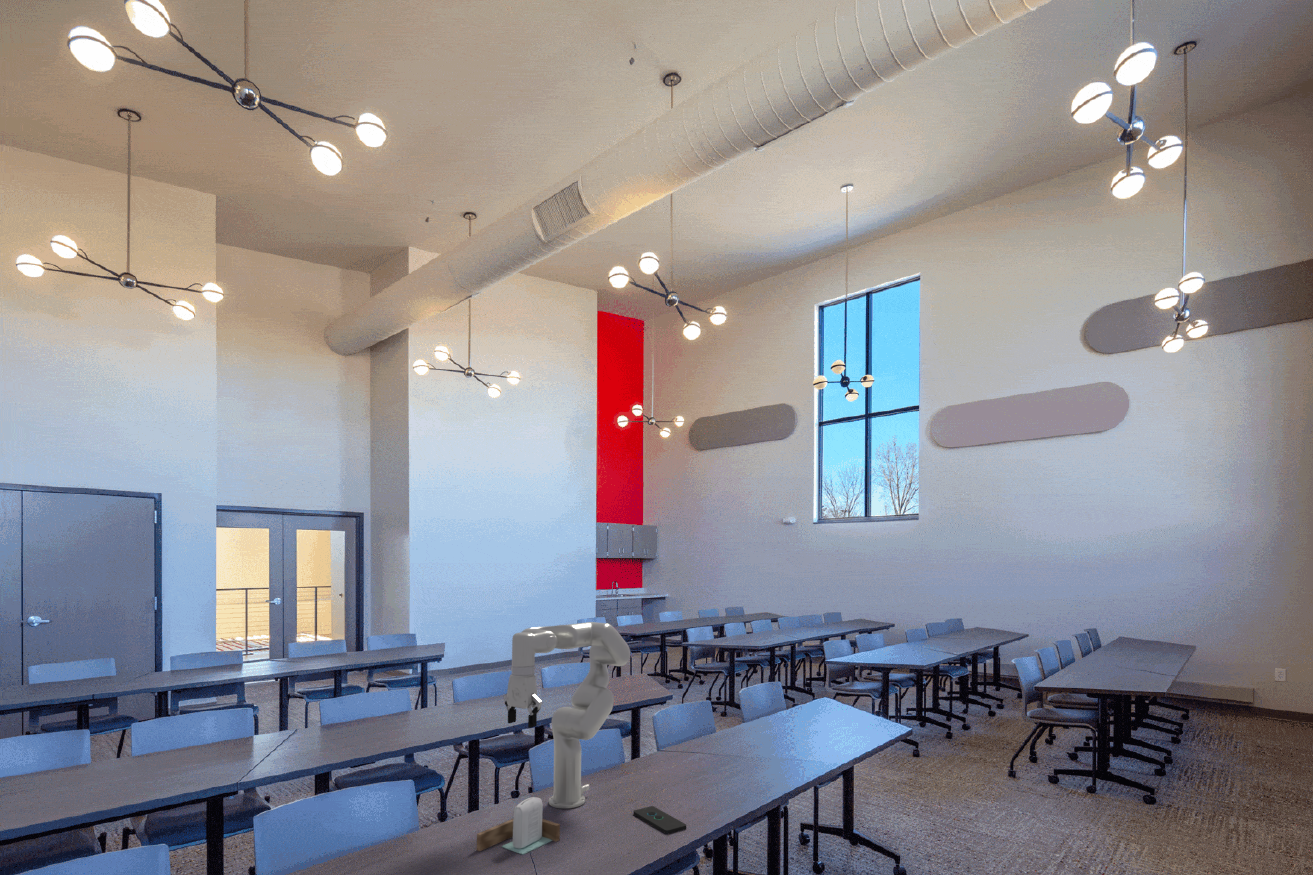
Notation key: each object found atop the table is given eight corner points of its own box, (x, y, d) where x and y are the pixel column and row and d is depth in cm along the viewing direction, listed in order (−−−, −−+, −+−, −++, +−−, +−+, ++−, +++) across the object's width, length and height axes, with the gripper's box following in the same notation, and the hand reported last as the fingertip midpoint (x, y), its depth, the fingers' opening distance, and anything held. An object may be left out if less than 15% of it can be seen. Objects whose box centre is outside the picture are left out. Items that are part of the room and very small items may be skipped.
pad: (531, 833, 222) (531, 832, 222) (552, 840, 217) (552, 839, 217) (501, 846, 212) (501, 845, 212) (522, 854, 207) (522, 853, 207)
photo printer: (533, 835, 220) (534, 792, 222) (544, 837, 218) (544, 795, 220) (510, 847, 211) (511, 802, 213) (521, 850, 209) (522, 805, 211)
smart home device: (652, 805, 242) (687, 824, 225) (652, 810, 242) (687, 830, 225) (632, 810, 237) (666, 830, 221) (632, 815, 237) (666, 836, 221)
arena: (525, 828, 226) (525, 813, 226) (559, 839, 217) (559, 824, 218) (476, 849, 210) (477, 833, 211) (511, 863, 201) (511, 846, 202)
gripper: (496, 669, 239) (495, 723, 237) (533, 675, 229) (532, 731, 227) (513, 666, 245) (512, 718, 243) (549, 671, 235) (548, 726, 233)
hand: (521, 724), depth 235 cm, fingers open, 9 cm apart
